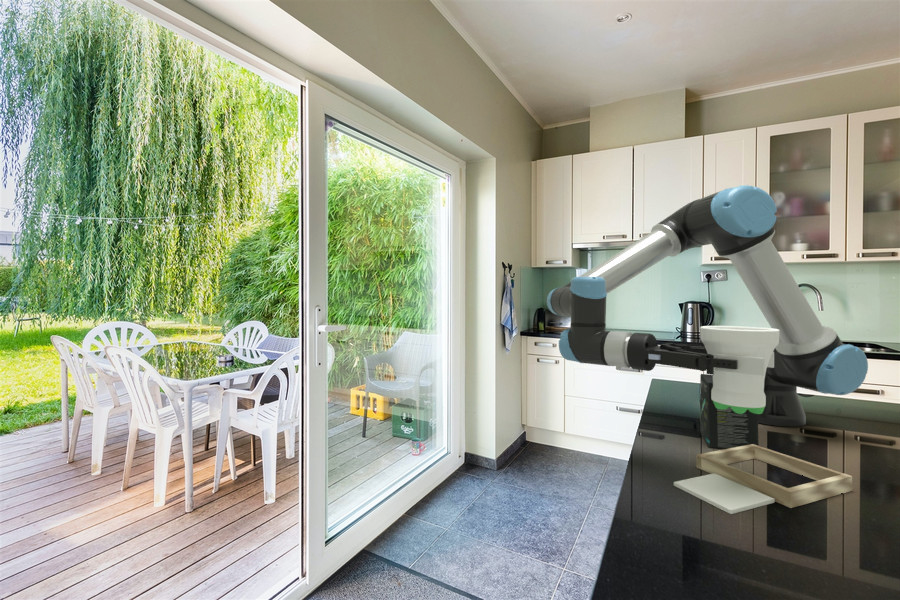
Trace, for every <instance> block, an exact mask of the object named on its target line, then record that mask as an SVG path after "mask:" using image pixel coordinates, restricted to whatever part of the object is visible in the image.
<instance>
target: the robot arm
mask: <svg viewBox="0 0 900 600" xmlns="http://www.w3.org/2000/svg"><path fill="white" fill-rule="evenodd" d="M777 213H778V210H777V205H776V202H775V201H774V199H773V198H772V196H771V195H770V194H769V193H768V192H766V190H764V189H762V188H760V187H759V186H758V187H757V186H754V185H749V184H747V185H738V186H734V187H729V188H725V189H722V190H720V191H718V192H715V193H713V194H710V195H707V196H704V197H702V198H699V199H696V200H693V201H691V202H688V203H686V204H685V205H684V206H682V207H680V208H679V209H677V210H676V211H674V212H673V213H672V214H670V215H669V216H667V217H666V218H664V219H663V220H661V221H660V222H658V223H657V224H655V225H653V226H652V228H651V230H650V232H649V233H648V234H646V235H644V236H643V237H641V238H639V239H638V240H636V241H634V242H633V243H631V244H630V245H628V246H626V247H624V248H623V249H622V250H620V251H619V252H617V253H615V254H614V255H612V256H610V257H609V258H607V259H605V260H604V261H603V262H601V263H599V264H597V265H595V266H594V267H592V268H591V269H589V270H588V271H586V272H584V273H582V274H581V275H579V276H575V277H573V278H571V280H570V282H568V283H567V284H565V285H563V286H560V287H559V286H558V287H556V288H554V289H552V290H551V291H549V293H548V295H547V298H546V306H547V308H548V310H549V311H550V312H551V313H552V314H554V315H556V316H558V317H563V318H566V317H570V327H569V328H566V329H564V330H563V331H562V332H561V333H560V334H559V335H560V336H559V340H558V350H559V353H560V355H561V357H562V358H563V359H565V360H567V361H571V362H577V363H579V364H588V365H597V366H606V367H607V366H608V367H615V369H616V370H617V371H620V370H621V368H623V369H629V368H631V369H632V370H639V371H645V372H646V371H647V372H650V371H652V370H654V368H655V366H656V365H661V366H662V365H663V366H671V367H677V368H683V369H688V370H696V371H700V372H705V371H706V374H707V375H713V374H714V367H715V370H716V371H725V372H734V373H743V374H752V375H761V376H764V358H758V357H746V356H734V355H723V354H715V358H714V355H711V354H708V353H707V350H706V348H705V346H700V345H699V346H697V345H689V344H676V343H672V342H665V343H660V345H659V344H658V342H657V339H656V335H654V334H653V333H646V332H633V333H632V331H622V330H621V331H618V330H617V331H616V330H611V331H610V330H607V328H606V326H607V325H606V324H607V323H606V321H607V295H608V294H609V293H611V292H612V291H614V290H616V289H618V287H620V286H622V285H623V284H625V283H627V282H628V281H630V280H632V279H633V278H635V277H637V276H638V275H640V274H641V273H643V272H644V271H646V270H648V269H650V268H652V266H654V265H656V264H658V263H659V262H661V261H662V260H664V259H665V258H667V257H676V256H678V255H680V254H681V253H683V252H685V251H687V250H691V249H694V248H697V247H703V246H706V245H707V246H708V245H711V246H712V247H713V249H714V250H715V252H716V254H717V255H718V256H719V257H720V258H724V259H729V260H730V263H731V264H732V266H733V267H734V269H735V270H736V272H737V273H738V275H739V277H740V279H741V280H742V282H743V284H744V285H745V286H746V288H747V290H748V291H749V293H750V295H751V297H753V300H754V301H755V304H756V305H757V306H758V308H759V310H760V312H761V314H762V315H763V316H764V318H765V319H766V321H767V323H768V324H769V326H770V328H773V329H778V330H780V332H779V344H778V345H777V346H776V347H775V349H774V351H773V353H772V355H771V357H770V360H769V363H768V366H767V369H766V374H765V379H764V393H765V396H766V406H765V408H764V411H763V413H762V414H758V424H762V425H767V426H776V427H791V428H792V427H796V428H797V427H803V426H805V425H806V424H807V421H806V420H807V419H806V418H807V417H806V413H805V411H804V407H803V405H802V403H801V400H800V398H799V396H798V392H797V388H802V389H805V390H809V391H813V392H818V393H821V394H826V395H827V394H828V395H834V396H845V395H849V394H851V393H853V392H855V391H856V390H857V389H859V388H860V387H861V386H862V384H863V383H864V382H865V380H866V377H867V374H868V370H869V369H868V368H869V362H868V359H867V356H866V354H865V352H864V351H863V349H861V348H860V347H858V346H854V345H853V344H850V343H848V344H846V343H843V341H842V340H841V338H840V337H839V336H838V333H837V331H835V329H834V328H831V327H829V326H823V325H822V323H821V321H820V319H819V318H818V316H817V315H816V313H815V311H814V310H813V308H812V306H811V305H810V303H809V301H808V299H807V298H806V297H805V294H804V293H803V292H802V290H801V288H800V285H799V284H798V283H797V282H796V280H795V278H794V276H793V275H792V273H791V271H790V269H789V268H788V266H787V265H786V263H785V261H784V260H783V258H782V256H781V255H780V253H779V251H778V249H777V248H776V246H775V245H774V243H773V241H772V240H773V237H774V236H775V233H776V230H775V228H774V225H775V223H776V222H777V219H778V218H777V215H775V214H777Z"/></svg>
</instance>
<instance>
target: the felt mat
mask: <svg viewBox="0 0 900 600" xmlns="http://www.w3.org/2000/svg"><path fill="white" fill-rule="evenodd" d="M673 486H674V487H676V488H678V489H680V490H682V491H683V492H685V493H688V494H690V495H692V496H694V497H696V498H697V499H700V500H701V501H704V502H706V503H708V504H710V505H711V506H714V507H715V508H717V509H719V510H722V511H723V512H725V513H728V514H729V515H733V514H737V513H741V512H744V511H748V510H752V509H755V508H759V507H763V506H768V505H770V504H774V503H775V499H774V498H771V497H769V496H767V495H764V494H762V493H760V492H757V491H755V490H753V489H750V488H748V487H746V486H743V485H741V484H739V483H736V482H734V481H731V480H729V479H727V478H724V477H722V476H720V475H717V474H715V473H713V474H710V473H708V474H704V475H701V476H695V477H691V478H687V479H686V478H685V479H682V480H681V479H680V480H677V481H676V480H675V481H673Z"/></svg>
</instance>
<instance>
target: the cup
mask: <svg viewBox="0 0 900 600" xmlns="http://www.w3.org/2000/svg"><path fill="white" fill-rule="evenodd" d="M699 332H700V334H699V338H700V341H701V343H702V344H703V345H704V346H703V347H705V348H706V350H707V353H708V354H711V355H714V358H715V354H723V355H734V356H746V357H758V358H764V376H761V375H752V374H743V373H734V372H725V371H716V370H715V367H714V374H712V375H713V388H712V390H711V399H712V400H713V403H714V405H715V407H716V408H717V409H727V408H728V407H731V408H732V410H733V411H734V412H735V413H738V414H743V413H745V412H746V410H747V409H748V410H749V411H750V412H752V413H755V414H762V413H763V411H764V408H765V406H766V396H765V393H764V379H765V374H766V369H767V366H768V363H769V360H770V357H771V355H772V353H773V351H774V349H775V347H776V346H777V345H778V344H779V332H780V330H778V329H773V328H771V327H770V328H769V327H761V326H760V327H759V326H758V327H757V326H743V325H742V326H739V325H737V326H736V325H703V326H700V328H699Z"/></svg>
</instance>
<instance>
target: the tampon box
mask: <svg viewBox="0 0 900 600" xmlns="http://www.w3.org/2000/svg"><path fill="white" fill-rule="evenodd" d="M699 382H700V386H699V387H700V389H699V390H700V392H699V393H700V395H699V397H700V400H699V402H700V407H699V408H700V413H699V414H700V416H699V418H700V419H699V420H700V422H699V424H700V428H699V429H700V431H699V433H700V434H701V436H702V438H703V440H704V442H705V444H706V445H707V446H708V448H713V449H714V448H715V449H719V450H724V449H729V448H734V447H740V446H745V445H750V444H754V445H757V446H760V445H759V423H758V414H755V413H752V412H750V411H749V410H748V409H747V410H746V412H745V413H743V414H738V413H735V412H734V411H733V410H732V408H731V407H728V408H727V409H717V408H716V407H715V405H714V403H713V400H712V399H711V390H712V388H713V374H707V373H706V374H705V373H701V374H700V381H699Z"/></svg>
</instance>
